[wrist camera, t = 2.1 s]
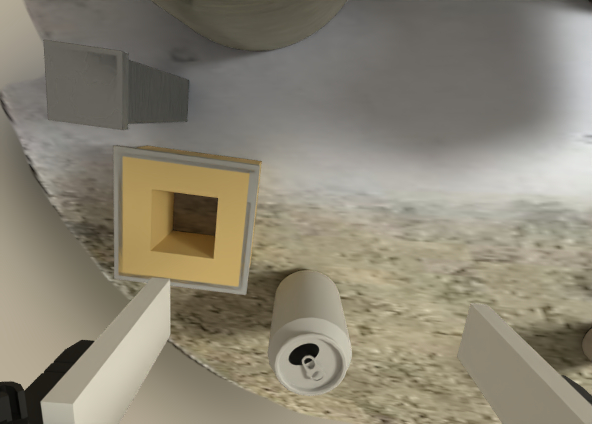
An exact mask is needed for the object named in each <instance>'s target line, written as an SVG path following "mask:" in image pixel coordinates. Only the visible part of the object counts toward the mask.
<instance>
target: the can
mask: <svg viewBox="0 0 592 424" xmlns="http://www.w3.org/2000/svg"><path fill="white" fill-rule="evenodd" d="M268 358H269V364H270V366H271V368H272V369H273V371H274V373H275V375H276V377H277V378H278V380H279V382H280V383H281V384H282V385H283V386H284V387H285V388H287V389H288V390H290V391H292V392H294V393H296V394H300V395H306V396H314V395H321V394H324V393H326V392H329V391H331V390H332V389H334V388H335V387H336V386H338V385H339V384H340V382H341V381H342V379H343V378H344V377H345V373H346V370H347V369H348V367H349V365H350V361H351V358H352V350H351V343H350V338H349V334H348V330H347V325H346V321H345V317H344V312H343V308H342V304H341V299H340V295H339V291H338V289H337V287H336V285H335V283H334V282H333V281H332V280H331V279H330V278H329V277H328V276H326V275H324V274H322V273H320V272H317V271H311V270H304V271H297V272H295V273H293V274H290V275H288V276H287V277H286V278H285V279H284V280H283V281H281V283H280V285H279V286H278V288H277V290H276V295H275V300H274V308H273V316H272V323H271V331H270V339H269V346H268Z"/></svg>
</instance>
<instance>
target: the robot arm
mask: <svg viewBox="0 0 592 424" xmlns="http://www.w3.org/2000/svg"><path fill="white" fill-rule="evenodd" d="M589 1H591V2H592V0H589ZM169 336H170V279H165V278H153V277H152V278H151V279H150V280H149V281H148V283H147V284H146V285H145V286H144V287H143V288H142V289H141V290H140V291H139V293H138V294H137V295H136V296H135V297H134V298H133V299H132V300H131V301H130V303H129V304H128V305H127V306H126V307H125V308H124V309H123V310H122V312H121V313H120V314H119V315H118V316H117V317H116V318H115V319H114V320H113V322H112V323H111V324H110V325H109V326H108V327H107V328H106V329H105V331H104V332H103V333H102V334H101V335H100V336H99V337H98V338H97V339H96V340H95V341H90V340H81V341H79V342H77V343H76V344H74V345H72V346H71V347H69V348H67V349H65V350H64V352H63V353H62V354H60V356H58V358H57V359H56V360H55V361H54V363H52V364H51V365H50V366H49V367H48V368H47V369H46V370H45V371H44V373H42V374H41V375H40V376H39V377H38V378H37V379H36V380H35V381H34V382H33V383H32V384H31V385H30V386H29V387H28V388H27V389H26V390H25V391H24V389H23V388H22V386H21V384H18V383H15V382H0V424H119V423H120V421H121V419H122V418H123V416H124V414H125V413H126V411H127V409H128V407H129V406H130V404H131V402H132V400H133V399H134V397H135V395H136V393H137V392H138V390H139V388H140V387H141V385H142V383H143V381H144V380H145V378H146V376H147V374H148V373H149V371H150V369H151V367H152V366H153V364H154V362H155V360H156V359H157V357H158V355H159V354H160V352H161V350H162V348H163V347H164V345H165V343H166V341H167V340H168V338H169ZM457 357H458V359H459V360H460V362H461V363H462V365H463V366H464V368H465V369H466V370H467V372H468V373H469V375H470V376H471V378H472V379H473V381H474V382H475V384H476V385H477V387H478V388H479V390H480V391H481V393H482V394H483V396H484V397H485V398H486V400H487V401H488V403H489V404H490V406H491V407H492V409H493V410H494V412H495V413H496V415H497V416H498V418H499V419H500V421H501V422H502V423H503V424H592V396H591V395H590V394H589V393H588V392H587V391H586V390H585V389H584V388H583V387H581V386H580V385H578V384H577V383H575V382H574V381H572V380H571V379H569V378H568V377H566V376H564V375H560V374H559V373H558V372H557V371H556V370H555V369H554V368H553V367H551V366H550V365H549V364H548V363H547V362H546V361H545V360H544V359H543V358H542V357H541V356H540V355H539V354H538V353H537V352H536V351H535V350H534V349H533V348H532V347H531V346H530V345H529V344H528V343H527V342H526V341H525V340H524V339H523V338H522V337H521V336H519V335H518V334H517V333H516V332H515V331H514V330H513V329H512V328H511V327H510V326H509V325H508V324H507V323H506V322H505V321H504V320H503V319H502V318H501V317H500V316H499V315H498V314H497V313H496V312H495V311H494V310H493V309H492V308H491V307H490V306H488V305H485V304H473V303H471V304H470V308H469V311H468V315H467V319H466V323H465V327H464V331H463V335H462V339H461V343H460V347H459V351H458V355H457Z"/></svg>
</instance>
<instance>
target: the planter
mask: <svg viewBox="0 0 592 424" xmlns="http://www.w3.org/2000/svg"><path fill="white" fill-rule="evenodd" d="M151 1H152V2H154V3H155V4H157V5H158V6H160V7H161V8H162V9H164V10H165V11H167V12H168V13H170V14H171V15H173V16H174V17H176V18H177V19H178V20H180V21H181V22H183V23H184V24H185V25H187V26H188V27H190V28H191V29H192V30H194V31H195V32H197V33H199V34H200V35H202V36H203V37H205V38H207V39H209V40H211V41H213V42H216V43H218V44H221V45H224V46H227V47H231V48H235V49H240V50H248V51H265V50H273V49H278V48H283V47H286V46H289V45H292V44H295V43H297V42H299V41H301V40H303V39H305V38H307V37H309V36H311V35H312V34H314V33H315V32H317V31H318V30H319V29H321V28H322V27H323V26H325V25H326V24H327V23H328V22H329V21H330V20H331V19H332V18H333V17H334V16H335V15H336V14H337V13H338V12H339V11H340V9H341V8H342V7H343V6H344V4H345V3H346V2H347V0H151Z"/></svg>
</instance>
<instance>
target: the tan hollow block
mask: <svg viewBox="0 0 592 424" xmlns="http://www.w3.org/2000/svg"><path fill="white" fill-rule="evenodd" d="M261 163H262V161H256V160H249V159H241V158H234V157H227V156H219V155H212V154H205V153H197V152H190V151H183V150H176V149H168V148H161V147H154V146H143V147H137V148H132V147H125V146H118V145H116V146H113V169H114V279H121V280H129V281H137V282H145V283H148V281H149V280H150V279H151V278H152V277H153V278H165V279H170V286H177V287H185V288H193V289H201V290H209V291H217V292H225V293H233V294H241V295H246V293H247V284H248V275H249V268H250V264H251V255H252V245H253V236H254V227H255V218H256V209H257V199H258V190H259V181H260V172H261ZM174 192H177V193H184V194H192V195H199V196H207V197H214V198H218V208H217V221H216V234H215V236H211V235H204V234H196V233H188V232H181V231H173V212H174Z"/></svg>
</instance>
